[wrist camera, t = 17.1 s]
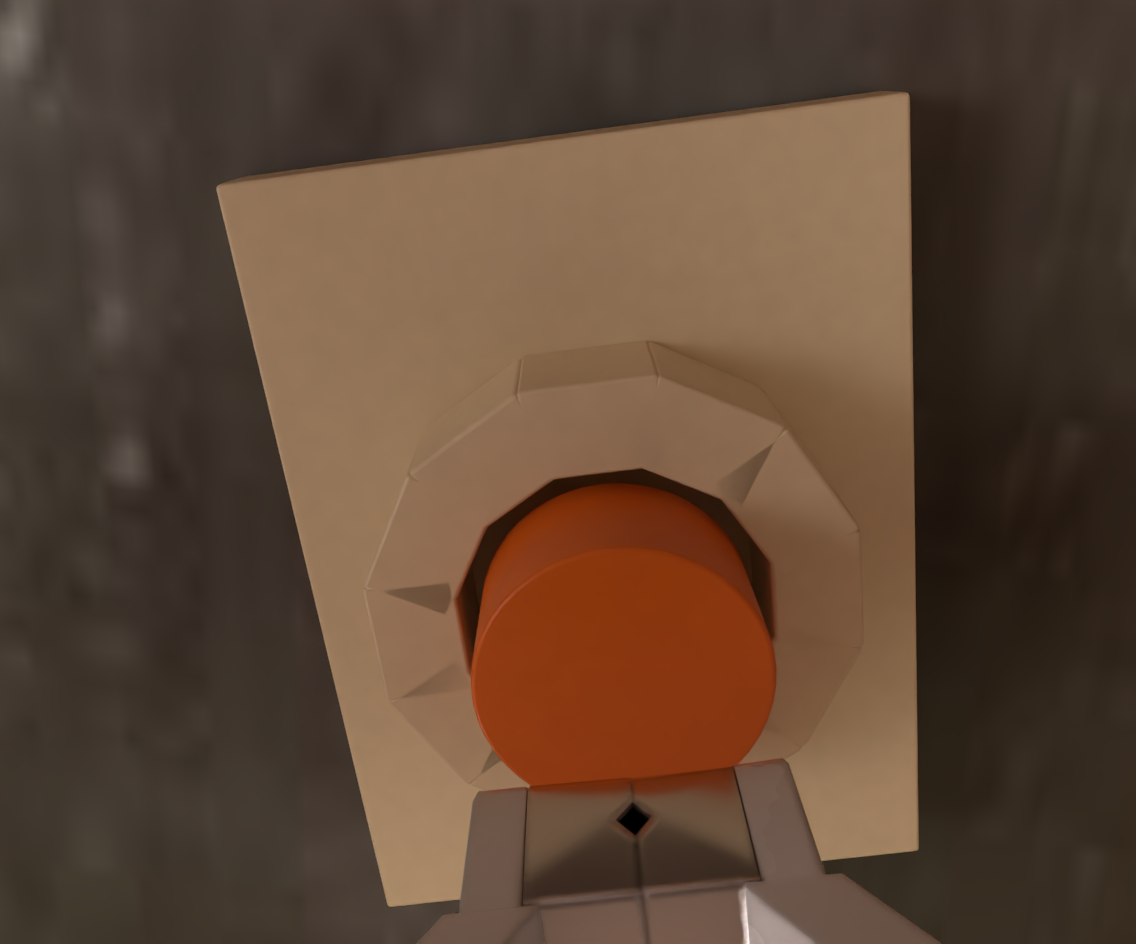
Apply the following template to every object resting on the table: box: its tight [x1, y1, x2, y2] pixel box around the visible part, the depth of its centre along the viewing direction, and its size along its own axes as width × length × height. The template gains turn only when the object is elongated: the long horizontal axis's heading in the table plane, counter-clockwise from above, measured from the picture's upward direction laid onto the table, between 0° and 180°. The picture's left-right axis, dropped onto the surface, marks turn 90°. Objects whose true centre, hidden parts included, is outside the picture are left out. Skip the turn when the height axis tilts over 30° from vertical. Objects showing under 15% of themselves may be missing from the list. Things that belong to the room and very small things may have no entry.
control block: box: [217, 91, 919, 907], centre depth 15 cm, size 12×9×3 cm
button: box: [471, 483, 777, 786], centre depth 13 cm, size 4×4×2 cm
